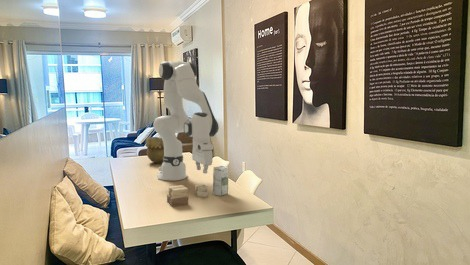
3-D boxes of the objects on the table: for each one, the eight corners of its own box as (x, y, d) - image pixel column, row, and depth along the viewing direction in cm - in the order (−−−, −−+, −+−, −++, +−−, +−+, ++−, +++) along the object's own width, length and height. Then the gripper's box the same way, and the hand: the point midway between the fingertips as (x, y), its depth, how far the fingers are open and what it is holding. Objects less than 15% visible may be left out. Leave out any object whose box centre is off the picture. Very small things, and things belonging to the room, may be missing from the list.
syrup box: (220, 192, 190) (220, 165, 188) (228, 194, 186) (228, 166, 184) (212, 194, 185) (212, 166, 184) (221, 196, 181) (221, 168, 180)
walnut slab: (167, 202, 171) (166, 194, 171) (182, 200, 175) (182, 192, 174) (171, 207, 164) (171, 199, 164) (188, 205, 168) (188, 196, 167)
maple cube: (195, 194, 184) (195, 185, 184) (204, 193, 186) (204, 184, 186) (198, 197, 180) (198, 187, 179) (207, 196, 182) (207, 186, 181)
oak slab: (168, 194, 171) (168, 186, 170) (182, 193, 174) (182, 185, 173) (173, 198, 164) (173, 190, 164) (187, 196, 168) (187, 188, 167)
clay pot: (155, 159, 281) (154, 134, 279) (179, 161, 274) (178, 135, 272) (139, 164, 262) (139, 137, 260) (164, 166, 255) (164, 138, 252)
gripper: (189, 142, 188) (189, 168, 189) (202, 147, 170) (202, 175, 171) (200, 142, 191) (200, 167, 192) (214, 146, 172) (215, 174, 174)
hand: (201, 171), depth 181 cm, fingers open, 8 cm apart
